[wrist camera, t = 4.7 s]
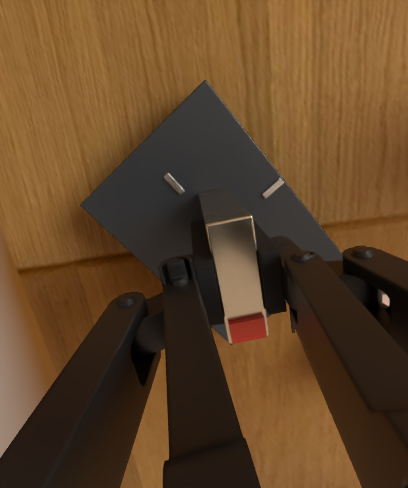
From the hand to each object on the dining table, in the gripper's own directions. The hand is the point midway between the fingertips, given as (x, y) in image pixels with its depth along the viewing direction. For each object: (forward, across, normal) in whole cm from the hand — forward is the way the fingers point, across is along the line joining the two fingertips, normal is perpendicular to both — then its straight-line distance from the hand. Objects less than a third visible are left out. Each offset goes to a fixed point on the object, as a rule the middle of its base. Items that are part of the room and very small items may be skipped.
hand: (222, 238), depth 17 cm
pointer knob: (+1, 0, 0) cm, 1 cm away
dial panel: (+4, 0, 0) cm, 4 cm away
